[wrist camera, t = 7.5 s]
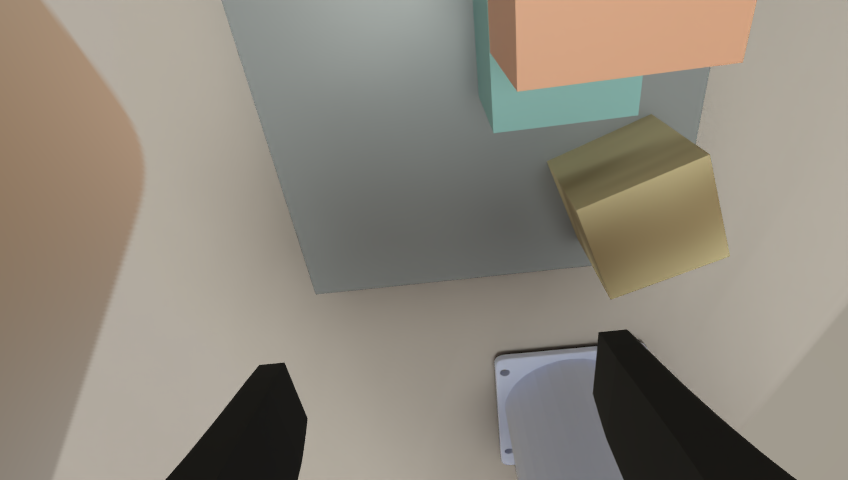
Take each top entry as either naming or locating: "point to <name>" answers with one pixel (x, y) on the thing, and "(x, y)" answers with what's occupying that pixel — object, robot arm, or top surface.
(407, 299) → the top surface
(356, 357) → the top surface
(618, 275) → the brick
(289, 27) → the baseplate
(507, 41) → the cube brick
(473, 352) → the top surface
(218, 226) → the top surface
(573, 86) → the base brick
